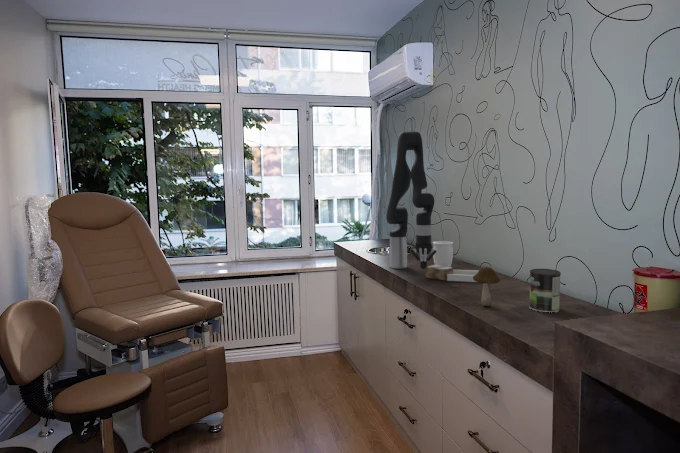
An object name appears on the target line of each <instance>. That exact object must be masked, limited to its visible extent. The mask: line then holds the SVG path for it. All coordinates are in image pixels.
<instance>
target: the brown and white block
mask: <svg viewBox="0 0 680 453" xmlns="http://www.w3.org/2000/svg"><path fill="white" fill-rule="evenodd" d="M453 269H454V267H452V266H450V267H447V266H440V265H435V264H431V265H427V267H426V268H425V278H429V279H434V280H441V281H447V274H453Z"/></svg>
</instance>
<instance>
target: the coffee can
mask: <svg viewBox="0 0 680 453" xmlns="http://www.w3.org/2000/svg"><path fill="white" fill-rule="evenodd" d="M561 274H562V272H561V271H559V270H556V269H551V268H533V269H530V270H529V306H528V308H529V309H530V310H531V309H532V310H531V311H534V310H535V311H534V312H537V311H539V312H538V313H543V312H549V313H548V314H553V313H552V312H555V313H558V312H559V311H560V295H561V293H560V291H561V290H560V289H561ZM550 312H551V313H550Z"/></svg>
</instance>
